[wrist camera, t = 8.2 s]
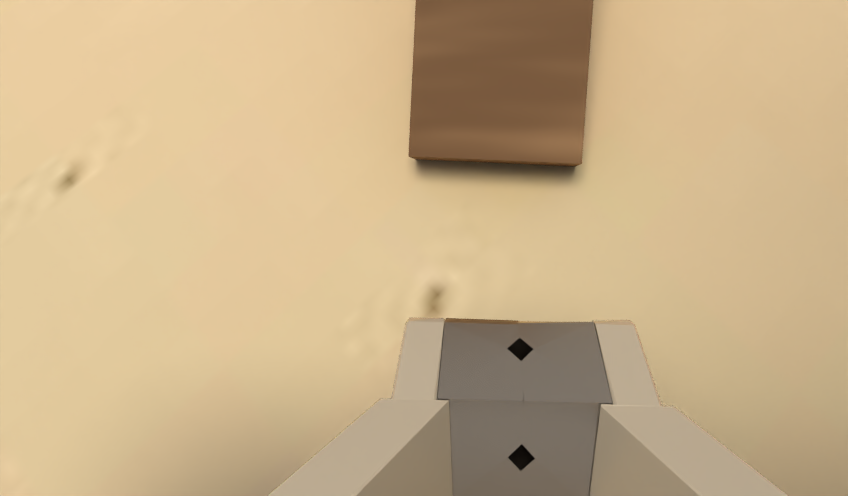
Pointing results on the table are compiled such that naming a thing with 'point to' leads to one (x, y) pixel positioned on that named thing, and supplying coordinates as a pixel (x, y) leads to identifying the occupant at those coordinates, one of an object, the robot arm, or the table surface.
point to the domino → (500, 81)
